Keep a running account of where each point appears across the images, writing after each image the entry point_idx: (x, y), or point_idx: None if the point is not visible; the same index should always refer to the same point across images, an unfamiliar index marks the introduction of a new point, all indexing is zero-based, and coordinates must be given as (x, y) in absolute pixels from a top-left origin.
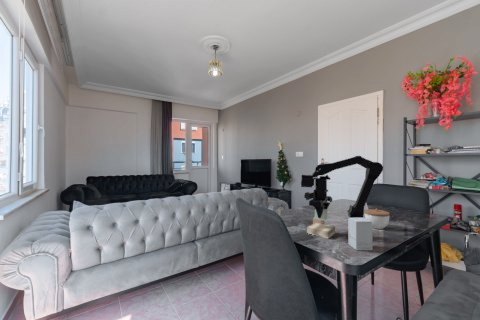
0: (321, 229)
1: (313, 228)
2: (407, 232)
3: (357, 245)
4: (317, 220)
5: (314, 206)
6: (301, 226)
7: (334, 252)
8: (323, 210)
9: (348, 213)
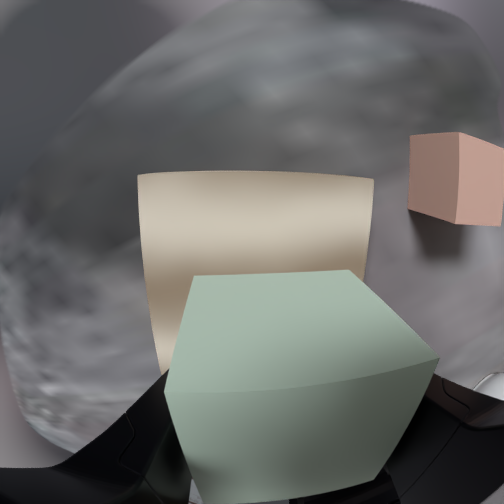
0: (175, 322)
1: (144, 252)
2: None
3: None
4: (446, 179)
5: (29, 489)
6: (336, 52)
7: (45, 392)
8: (235, 496)
9: (386, 499)
